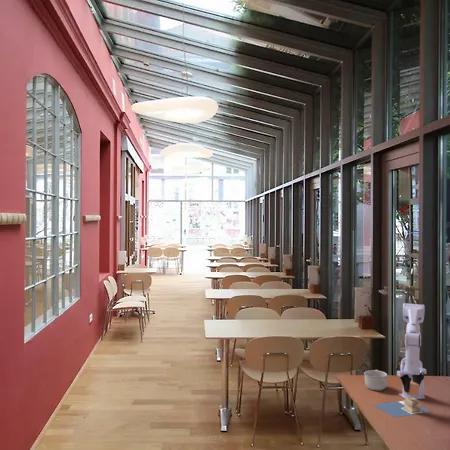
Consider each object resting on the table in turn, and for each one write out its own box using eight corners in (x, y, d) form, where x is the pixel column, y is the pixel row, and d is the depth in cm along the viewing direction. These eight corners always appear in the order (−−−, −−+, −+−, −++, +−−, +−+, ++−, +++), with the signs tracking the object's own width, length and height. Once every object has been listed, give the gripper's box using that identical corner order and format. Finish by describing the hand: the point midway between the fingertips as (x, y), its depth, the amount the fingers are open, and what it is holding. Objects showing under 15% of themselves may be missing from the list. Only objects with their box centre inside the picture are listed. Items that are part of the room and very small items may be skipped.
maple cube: (412, 407, 214) (412, 397, 214) (419, 411, 210) (420, 401, 210) (404, 408, 212) (404, 398, 212) (411, 412, 208) (411, 402, 208)
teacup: (383, 394, 231) (384, 378, 231) (361, 389, 237) (361, 373, 236) (390, 386, 243) (391, 370, 243) (368, 382, 248) (369, 366, 248)
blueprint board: (408, 401, 223) (408, 399, 223) (431, 413, 210) (431, 411, 210) (372, 406, 216) (372, 404, 216) (394, 418, 203) (394, 416, 203)
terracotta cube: (411, 391, 214) (411, 381, 214) (418, 394, 210) (419, 384, 210) (403, 392, 213) (403, 382, 212) (410, 395, 208) (411, 385, 208)
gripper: (405, 364, 205) (404, 396, 205) (432, 361, 210) (430, 392, 210) (394, 359, 211) (392, 390, 212) (420, 357, 216) (419, 387, 217)
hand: (411, 391), depth 211 cm, fingers closed on terracotta cube, 4 cm apart
